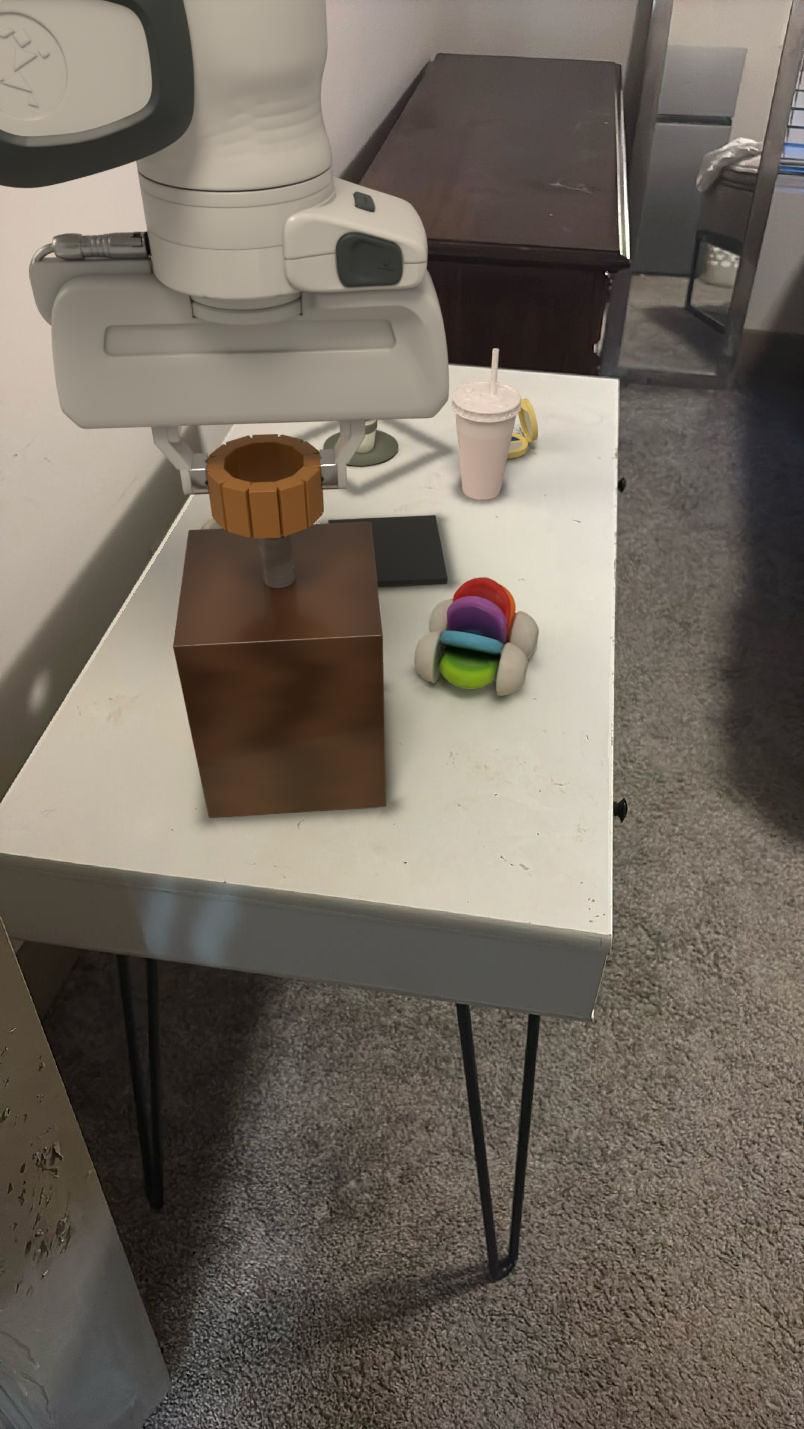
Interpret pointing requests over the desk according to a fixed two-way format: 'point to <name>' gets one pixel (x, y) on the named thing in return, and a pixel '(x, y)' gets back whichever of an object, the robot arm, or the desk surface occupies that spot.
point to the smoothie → (484, 432)
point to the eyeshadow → (524, 430)
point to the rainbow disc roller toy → (478, 639)
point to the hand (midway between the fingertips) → (267, 487)
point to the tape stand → (283, 669)
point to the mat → (406, 550)
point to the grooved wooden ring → (265, 486)
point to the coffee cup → (369, 446)
